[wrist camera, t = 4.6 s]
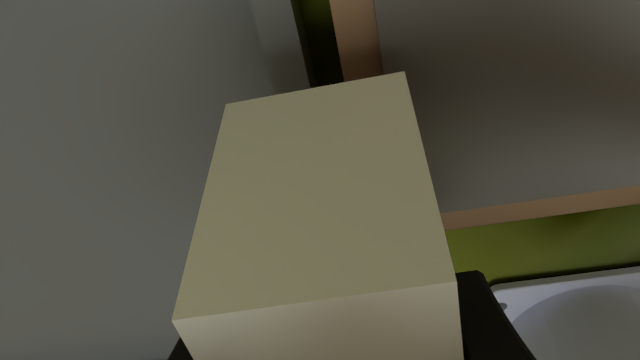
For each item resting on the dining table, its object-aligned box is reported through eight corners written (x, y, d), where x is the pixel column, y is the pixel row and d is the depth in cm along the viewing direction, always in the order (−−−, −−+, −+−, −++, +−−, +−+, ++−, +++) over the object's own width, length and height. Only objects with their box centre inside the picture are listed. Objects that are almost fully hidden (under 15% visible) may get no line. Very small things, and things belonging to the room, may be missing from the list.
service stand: (664, 136, 19) (718, 200, 17) (367, 181, 20) (373, 247, 18) (739, -222, 13) (843, -212, 11) (311, -131, 14) (310, -101, 12)
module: (429, 262, 16) (475, 486, 11) (284, 283, 17) (269, 505, 12) (404, 71, 12) (457, 281, 8) (219, 105, 13) (161, 321, 8)
